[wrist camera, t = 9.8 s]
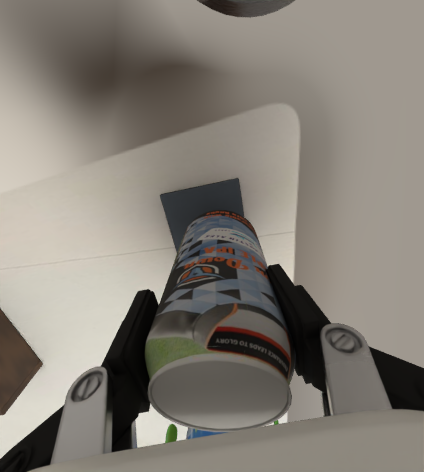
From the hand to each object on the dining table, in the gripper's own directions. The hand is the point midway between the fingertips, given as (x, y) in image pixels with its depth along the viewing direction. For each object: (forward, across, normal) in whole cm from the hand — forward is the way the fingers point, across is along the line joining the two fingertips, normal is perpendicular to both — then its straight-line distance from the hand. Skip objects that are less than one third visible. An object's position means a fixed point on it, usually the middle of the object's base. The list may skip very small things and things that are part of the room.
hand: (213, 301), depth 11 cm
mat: (+12, 0, 0) cm, 12 cm away
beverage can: (+7, 0, 0) cm, 7 cm away
